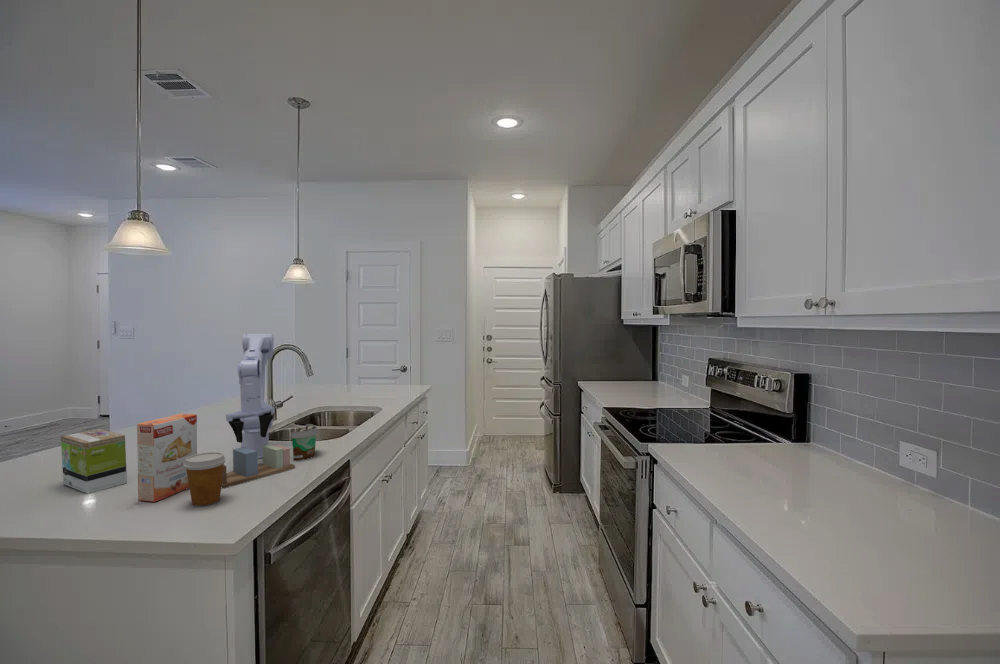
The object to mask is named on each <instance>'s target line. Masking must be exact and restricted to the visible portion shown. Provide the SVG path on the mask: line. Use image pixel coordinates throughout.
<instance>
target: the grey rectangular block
mask: <svg viewBox="0 0 1000 664" xmlns="http://www.w3.org/2000/svg"><path fill="white" fill-rule="evenodd" d="M232 464H233V465H232V467H233V468H232V469H233V472H235V473H237V474H240V475H242V476H245V477H249V476H253V475H256V474H258V465H259V458H258V451H255V450H252V449H249V448H246V447H242V448H241V447H238V448H232Z"/></svg>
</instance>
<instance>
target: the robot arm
mask: <svg viewBox="0 0 1000 664" xmlns="http://www.w3.org/2000/svg"><path fill="white" fill-rule="evenodd" d="M241 341H242V342H241V343H242V350H243V356H242V360H241V361H238V362H237V363H238V364H237V374H238V382H239V384H240V411H236V412H232V413H228V414H225V421H227V423H228V424H229V426H230V427H231V429H232V431H233V434H234V435H235V439H236V440H235V441H236V442H237V443H239V444H240V448H242V447H246V448H249V449H252V450H255V451H258V459H263V446H265V445H270V443H269V442H270V441H269V437H270V436H269V430H270V429H271V428H272V427H273V426H274V425H273V421H274V420H273V419H274V415H273V414H275V407H273V406H271V405H270V404H268V402H267V403H266V402H265V389H266V388H265V385H266V366H267V363H268V360H270V359H271V358H273V355H274V344H275V343H274V341H275V340H274V334H272V333H270V332H269V333H243V335H242V339H241Z"/></svg>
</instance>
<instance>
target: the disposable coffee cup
mask: <svg viewBox="0 0 1000 664" xmlns="http://www.w3.org/2000/svg"><path fill="white" fill-rule="evenodd" d="M226 461H227V457H225V455H224V453H223V452H219V451H211V452H202V453H197V454H196V455H193V456H190V457H188V458H186V461H185V463H184V467H185V468H186V472H187V477H188V482H189V488H188V489H189V494H190V500H191V504H192V505H193V506H195V505H198V506H197V507H200V506H199V505H205V506H209V505H208V504H210V505H213V504H216V503H218V502H219V501H220V500H221V492H222V488H221V485H222V476H223V467H224V465H225V462H226ZM218 500H219V501H218ZM217 501H218V502H217ZM215 502H216V503H215ZM212 503H213V504H212Z"/></svg>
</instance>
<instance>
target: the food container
mask: <svg viewBox="0 0 1000 664" xmlns="http://www.w3.org/2000/svg"><path fill="white" fill-rule="evenodd" d="M318 433H319V431H318V427H317V425H315V424H311V423H306V424H305V427H303V428H300V429H298V430H297V431H291V435H290V439H291V440H292V441H291V443H292V454H293V458H292V459H293V461H303V459H304V460H308V458H309V459H312V458H314V457H315V456H316V440H317V439H316V438H317V434H318ZM314 455H315V456H314ZM313 456H314V457H313ZM311 457H312V458H311Z"/></svg>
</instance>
